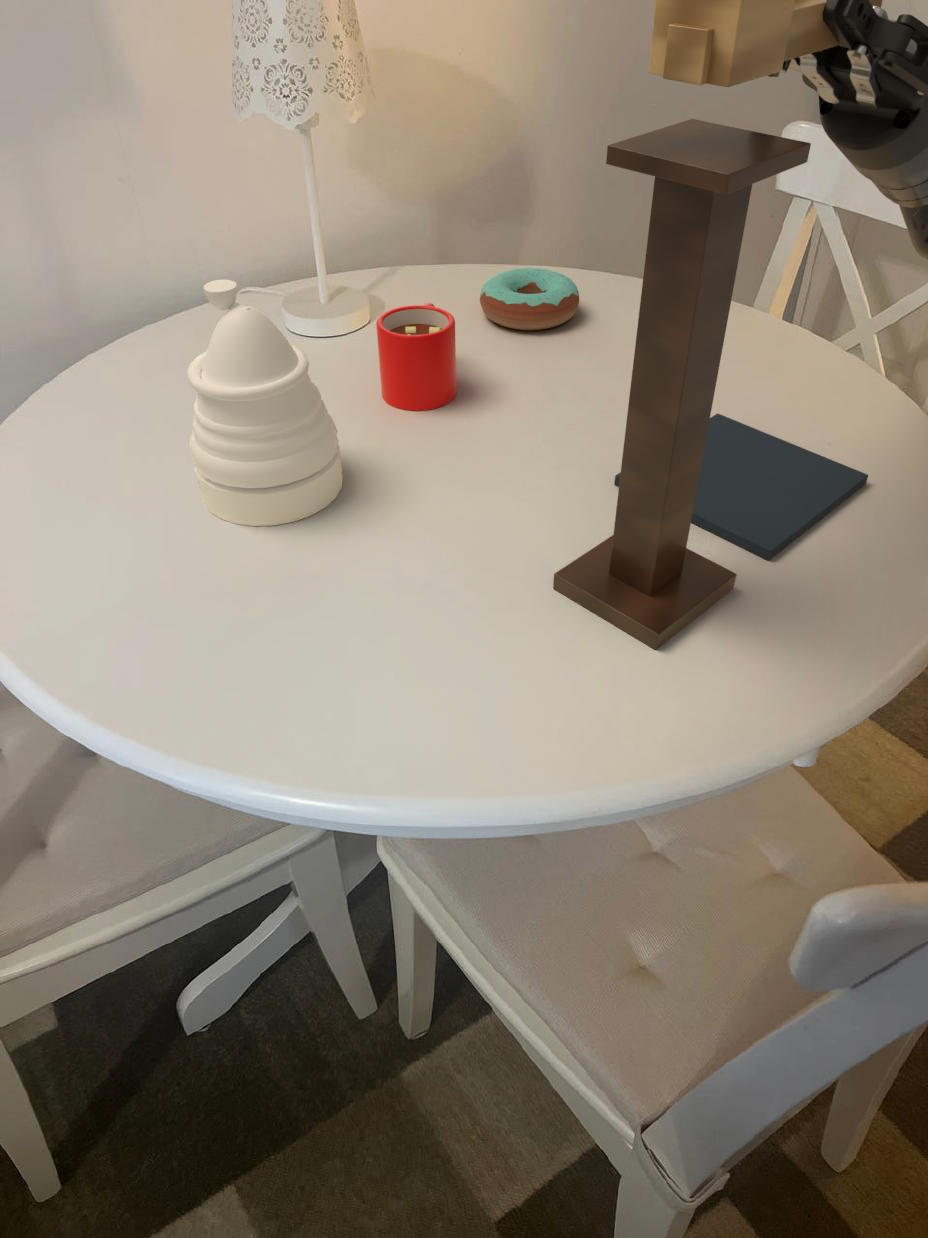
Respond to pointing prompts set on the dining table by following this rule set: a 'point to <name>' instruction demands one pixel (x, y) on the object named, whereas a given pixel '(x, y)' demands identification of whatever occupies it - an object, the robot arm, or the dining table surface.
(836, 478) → the mat
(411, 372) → the mug
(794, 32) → the light wood mallet shape
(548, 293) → the donut
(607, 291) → the dining table surface
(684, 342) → the brown pedestal stand
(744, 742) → the dining table surface
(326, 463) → the honey pot
